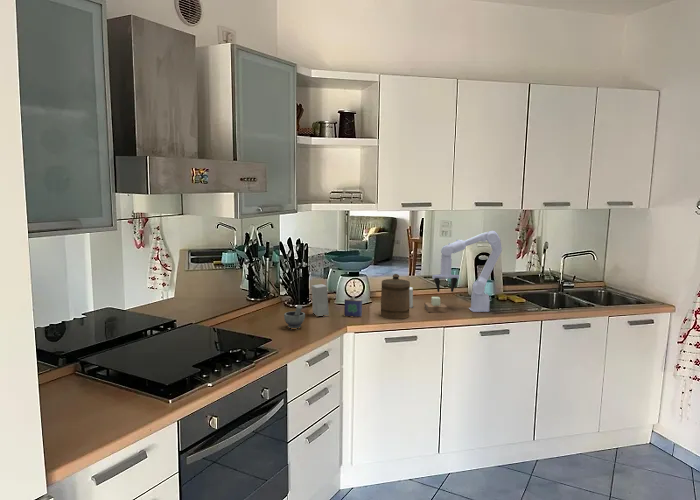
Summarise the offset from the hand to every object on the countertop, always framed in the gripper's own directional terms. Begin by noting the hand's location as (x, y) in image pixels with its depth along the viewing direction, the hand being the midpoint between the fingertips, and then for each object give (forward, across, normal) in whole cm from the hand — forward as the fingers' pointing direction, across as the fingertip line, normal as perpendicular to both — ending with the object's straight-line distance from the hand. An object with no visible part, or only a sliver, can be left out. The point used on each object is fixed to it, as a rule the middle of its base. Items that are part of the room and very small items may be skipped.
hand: (445, 291), depth 297 cm
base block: (+9, -6, -4) cm, 12 cm away
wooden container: (+10, -30, -15) cm, 35 cm away
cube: (+6, -6, -4) cm, 10 cm away
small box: (+10, -21, +5) cm, 24 cm away
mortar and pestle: (+10, -81, -37) cm, 90 cm away
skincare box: (+10, -69, -13) cm, 71 cm away
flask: (+10, -52, -16) cm, 55 cm away
